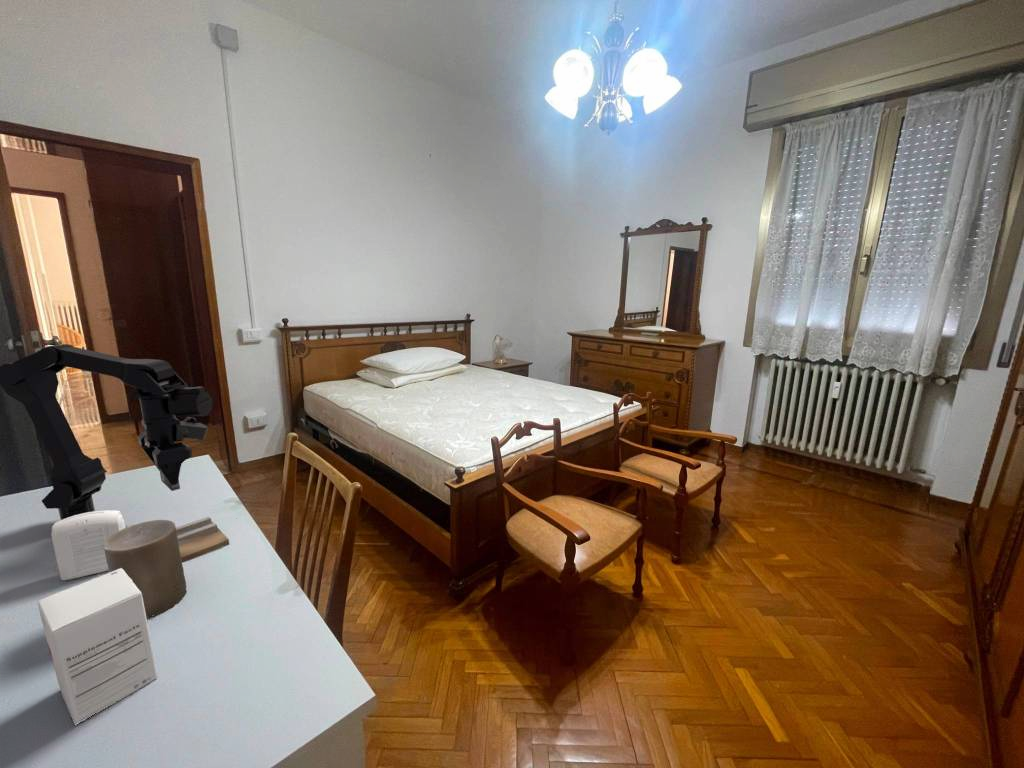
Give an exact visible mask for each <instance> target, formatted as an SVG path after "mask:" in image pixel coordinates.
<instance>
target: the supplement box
mask: <svg viewBox="0 0 1024 768" xmlns="http://www.w3.org/2000/svg"><path fill="white" fill-rule="evenodd" d="M37 607H38V611H39V614H40V619H41V623H42V627H43V630H44V635H45V638H46V643H47V646H48V650H49V655H50V657H51V661H52V666H53V668H54V671H55V677H56V679H57V683H58V685H59V690H60V692H61V693H60V694H61V696H62V698H63V700H64V703H65V705H66V707H67V710H68V712H69V713H68V714H69V715H70V717H72V718H71V719H73V720H72V722H73V721H74V722H73V724H74V723H75V724H77V723H79V722H81V721H83V720H84V719H86V718H88V717H90V716H92V715H94V714H95V713H97V712H99V713H100V711H101V710H102V711H104V710H106V709H107V708H109V707H111V706H112V705H114V704H116V703H117V701H118V702H119V701H121V700H123V699H124V698H126V697H128V696H129V695H132V694H133V693H134V692H136V691H138V690H140V689H141V688H143V687H144V686H146V685H148V684H150V683H151V682H154V681H155V680H156V679H158V671H157V666H156V660H155V656H154V650H153V646H152V641H151V636H150V635H151V634H150V629H149V624H148V618H146V613H145V608H144V602H143V597H142V593H141V592H140V590H139V589H138V588H137V587H136V585H135V584H134V583H133V581H132V579H131V578H129V576H128V575H127V574H126V573H125V571H124V570H123V569H122V568H120V569H117V570H115V571H112V572H110V573H109V572H108V573H106V574H103V575H101V576H97V577H95V578H93V579H91V580H88V581H85V582H83V583H81V584H77V585H75V586H72V587H70V588H67V589H64V590H62V591H58V592H55V593H54V594H51V595H49V596H46V597H45V598H41V599H40V600H38V601H37ZM110 705H111V706H110ZM108 706H109V707H108ZM105 708H106V709H105ZM103 709H104V710H103ZM102 711H101V712H102ZM97 714H98V713H97ZM95 715H96V714H95ZM95 715H94V716H95ZM92 717H93V716H92ZM90 718H91V717H90ZM75 724H74V725H75Z"/></svg>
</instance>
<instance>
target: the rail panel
mask: <svg viewBox="0 0 1024 768" xmlns="http://www.w3.org/2000/svg"><path fill="white" fill-rule="evenodd" d="M176 532H177V538H178V544H179V550H180V555H181V560H182V564H183V563H185V562H188V561H191V560H193V559H196V558H197V557H201V556H203V555H206V554H208V553H211V552H214V551H216V550H219V549H221V548H223V547H226V546H229V545H230V539H229V538H228V537H227V536H226V535H225V533H224V532H223V531H221V529H220V528H219V527H218V524H216V523H214V521H212V518H211V517H210V516H207V517H204V518H201V519H198V520H194V521H192V522H189V523H185V524H183V525H181V526H177V527H176Z"/></svg>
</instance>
